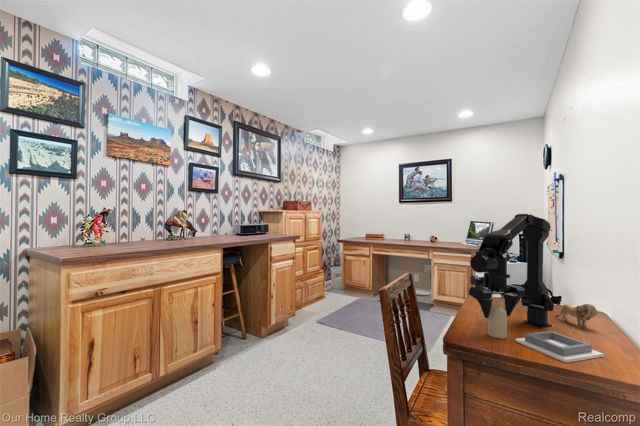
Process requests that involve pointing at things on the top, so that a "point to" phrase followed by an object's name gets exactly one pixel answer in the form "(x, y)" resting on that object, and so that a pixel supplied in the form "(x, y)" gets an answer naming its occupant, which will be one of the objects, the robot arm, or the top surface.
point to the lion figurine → (579, 313)
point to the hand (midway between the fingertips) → (497, 316)
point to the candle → (497, 322)
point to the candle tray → (559, 346)
